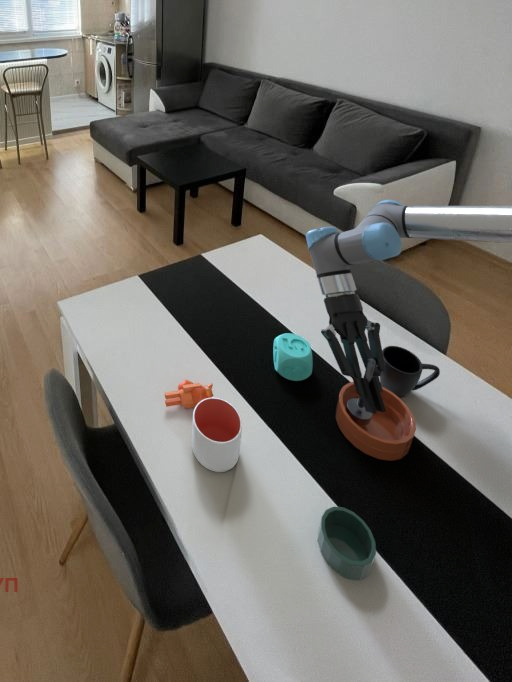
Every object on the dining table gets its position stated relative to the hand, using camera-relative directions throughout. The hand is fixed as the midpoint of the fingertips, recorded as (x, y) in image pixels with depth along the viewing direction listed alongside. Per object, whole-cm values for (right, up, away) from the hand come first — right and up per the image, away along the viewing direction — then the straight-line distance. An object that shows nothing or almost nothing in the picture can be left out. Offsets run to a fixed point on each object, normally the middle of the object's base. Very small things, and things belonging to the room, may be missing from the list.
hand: (375, 411), depth 90 cm
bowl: (+2, -7, +6) cm, 10 cm away
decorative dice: (-9, -2, +21) cm, 23 cm away
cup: (-33, -11, +3) cm, 35 cm away
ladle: (0, -5, +6) cm, 8 cm away
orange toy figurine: (-37, -6, +14) cm, 40 cm away
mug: (+15, -4, +14) cm, 21 cm away
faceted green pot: (-15, -16, -14) cm, 26 cm away
